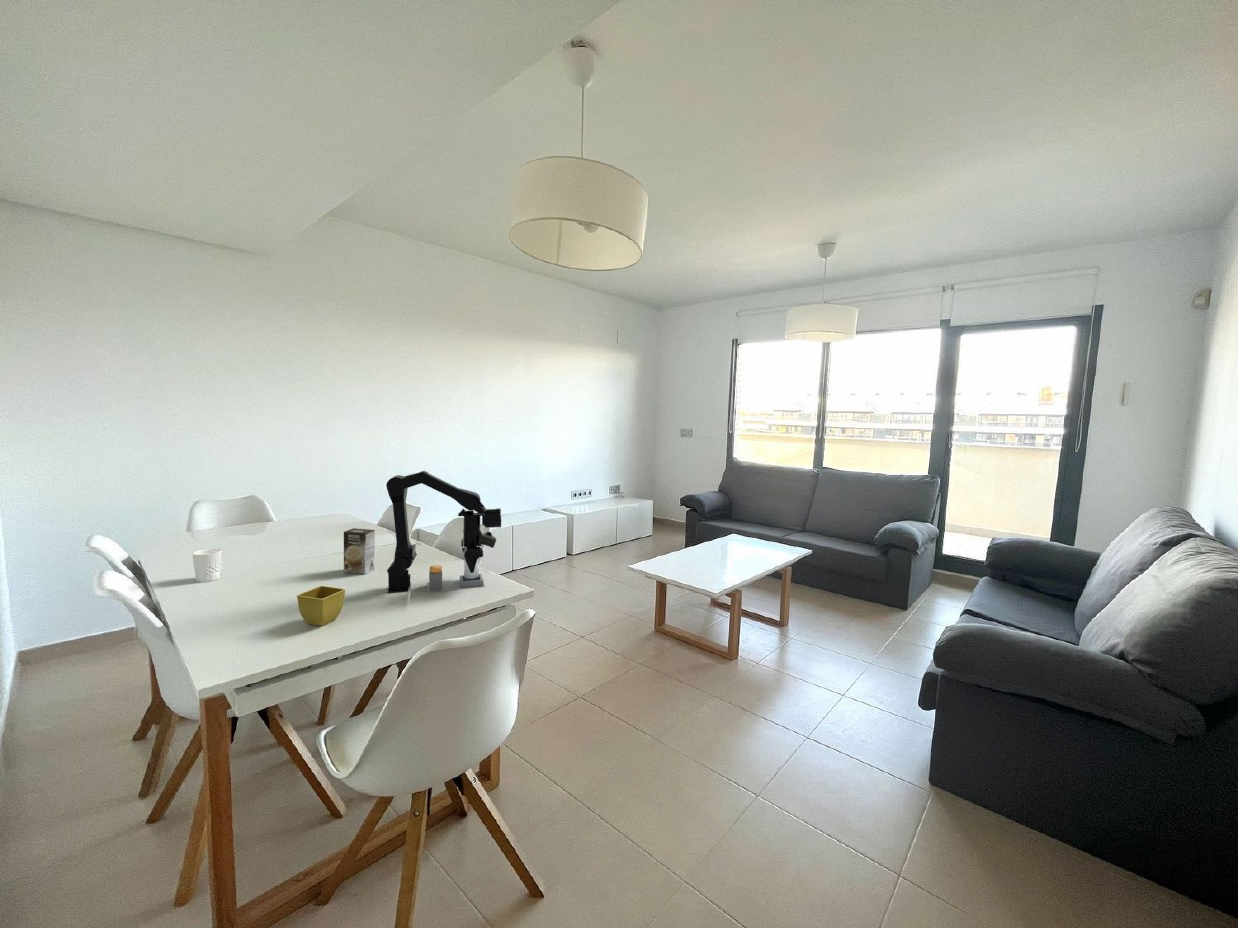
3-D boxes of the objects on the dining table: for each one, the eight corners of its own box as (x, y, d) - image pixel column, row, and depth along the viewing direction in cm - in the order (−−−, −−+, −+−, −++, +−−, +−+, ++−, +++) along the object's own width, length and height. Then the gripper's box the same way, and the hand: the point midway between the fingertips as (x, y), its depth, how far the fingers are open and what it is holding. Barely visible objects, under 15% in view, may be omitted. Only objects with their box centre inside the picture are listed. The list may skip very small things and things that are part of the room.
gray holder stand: (427, 594, 163) (427, 577, 162) (427, 584, 172) (427, 568, 172) (484, 588, 170) (485, 572, 169) (482, 580, 179) (482, 564, 179)
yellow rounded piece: (429, 585, 166) (429, 568, 165) (429, 582, 169) (429, 565, 169) (441, 584, 167) (441, 567, 167) (441, 581, 171) (441, 564, 170)
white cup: (226, 578, 171) (225, 551, 170) (198, 584, 165) (197, 556, 164) (217, 574, 176) (216, 547, 175) (190, 579, 169) (189, 552, 168)
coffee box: (342, 573, 182) (342, 531, 180) (353, 568, 188) (353, 527, 187) (365, 574, 181) (365, 532, 179) (375, 569, 187) (375, 529, 186)
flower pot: (346, 618, 142) (346, 588, 141) (322, 630, 133) (321, 598, 132) (321, 614, 144) (321, 585, 143) (296, 626, 135) (295, 595, 134)
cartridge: (464, 579, 169) (464, 554, 169) (463, 574, 174) (463, 550, 173) (479, 577, 171) (479, 553, 171) (477, 573, 176) (478, 549, 175)
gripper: (498, 532, 166) (497, 576, 167) (491, 521, 183) (491, 561, 184) (464, 534, 161) (464, 579, 163) (461, 522, 179) (460, 563, 180)
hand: (471, 570), depth 172 cm, fingers closed on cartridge, 5 cm apart
